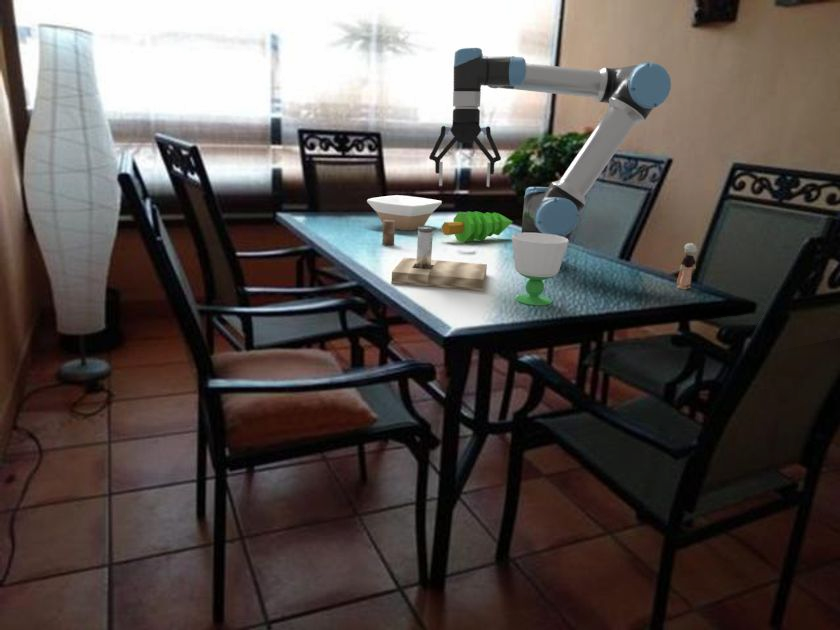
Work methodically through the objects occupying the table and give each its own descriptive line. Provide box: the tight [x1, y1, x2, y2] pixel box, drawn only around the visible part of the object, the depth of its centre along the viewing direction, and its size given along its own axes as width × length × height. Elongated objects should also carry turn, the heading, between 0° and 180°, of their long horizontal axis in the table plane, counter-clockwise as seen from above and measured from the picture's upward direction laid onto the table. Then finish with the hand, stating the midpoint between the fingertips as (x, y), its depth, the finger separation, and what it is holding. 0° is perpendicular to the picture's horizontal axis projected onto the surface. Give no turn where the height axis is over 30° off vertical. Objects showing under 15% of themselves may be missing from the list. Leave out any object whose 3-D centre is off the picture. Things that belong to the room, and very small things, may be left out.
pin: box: [416, 226, 434, 269], centre depth 173 cm, size 4×4×13 cm
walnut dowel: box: [382, 220, 396, 246], centre depth 215 cm, size 4×4×8 cm
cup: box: [511, 232, 570, 307], centre depth 156 cm, size 14×14×16 cm
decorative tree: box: [441, 210, 514, 243], centre depth 230 cm, size 11×12×30 cm
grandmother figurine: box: [676, 242, 698, 290], centre depth 176 cm, size 8×4×13 cm, turn 141°
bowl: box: [366, 194, 443, 231], centre depth 249 cm, size 24×25×11 cm
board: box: [390, 257, 488, 292], centre depth 174 cm, size 24×18×3 cm
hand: (464, 185), depth 183 cm, fingers open, 13 cm apart
